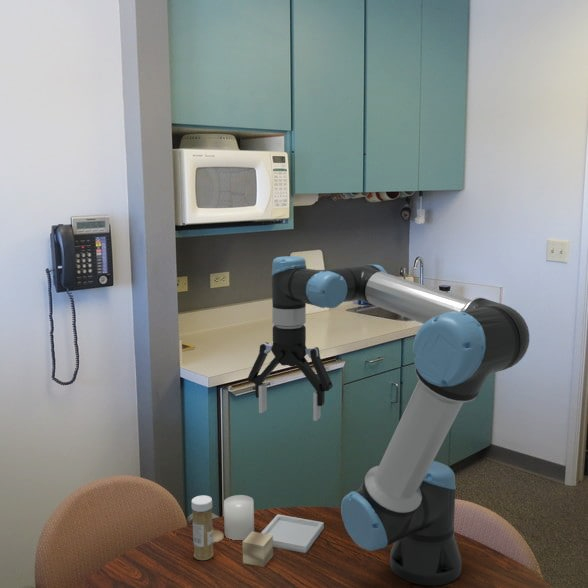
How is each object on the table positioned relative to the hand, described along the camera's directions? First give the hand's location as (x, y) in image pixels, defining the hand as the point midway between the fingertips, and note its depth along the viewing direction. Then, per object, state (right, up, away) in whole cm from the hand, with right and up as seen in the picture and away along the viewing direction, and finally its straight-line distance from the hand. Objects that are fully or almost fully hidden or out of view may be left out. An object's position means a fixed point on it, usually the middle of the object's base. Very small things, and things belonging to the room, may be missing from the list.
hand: (289, 415), depth 160 cm
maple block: (-7, -31, -7) cm, 32 cm away
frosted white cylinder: (-12, -29, +5) cm, 32 cm away
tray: (0, -29, +3) cm, 29 cm away
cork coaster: (-18, -29, +3) cm, 35 cm away
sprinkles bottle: (-19, -31, -5) cm, 37 cm away
